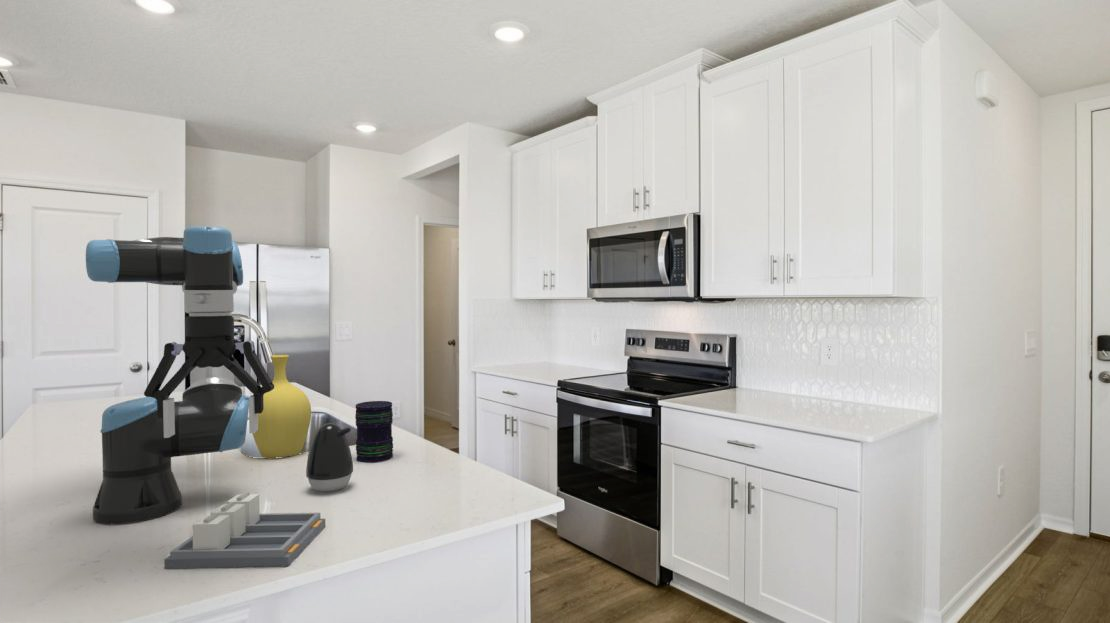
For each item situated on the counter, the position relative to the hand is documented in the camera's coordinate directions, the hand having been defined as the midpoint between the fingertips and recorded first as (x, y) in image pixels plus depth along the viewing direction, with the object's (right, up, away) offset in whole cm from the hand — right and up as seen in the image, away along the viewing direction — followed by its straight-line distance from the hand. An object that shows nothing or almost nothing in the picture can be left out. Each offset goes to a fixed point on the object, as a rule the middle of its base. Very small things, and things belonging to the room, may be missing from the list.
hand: (212, 434), depth 106 cm
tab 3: (+3, -18, +5) cm, 19 cm away
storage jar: (+11, -19, +58) cm, 62 cm away
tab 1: (+3, -18, -5) cm, 19 cm away
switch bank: (+7, -20, 0) cm, 21 cm away
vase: (-17, -19, +63) cm, 68 cm away
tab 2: (+3, -18, 0) cm, 18 cm away
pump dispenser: (+9, -19, +32) cm, 38 cm away
